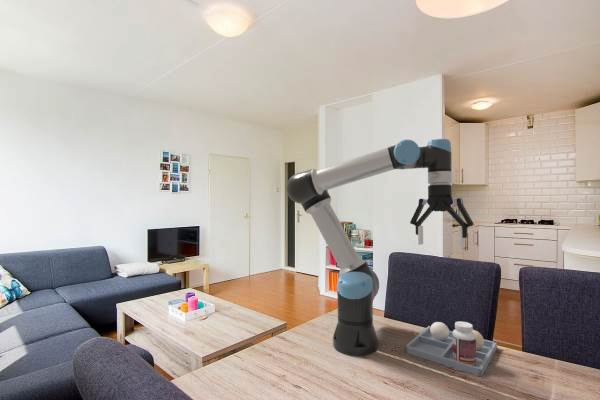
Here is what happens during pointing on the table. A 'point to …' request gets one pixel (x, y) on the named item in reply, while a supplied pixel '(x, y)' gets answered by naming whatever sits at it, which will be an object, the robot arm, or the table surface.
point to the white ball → (439, 331)
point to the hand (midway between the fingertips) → (440, 246)
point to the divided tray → (449, 352)
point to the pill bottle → (464, 343)
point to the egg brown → (478, 340)
